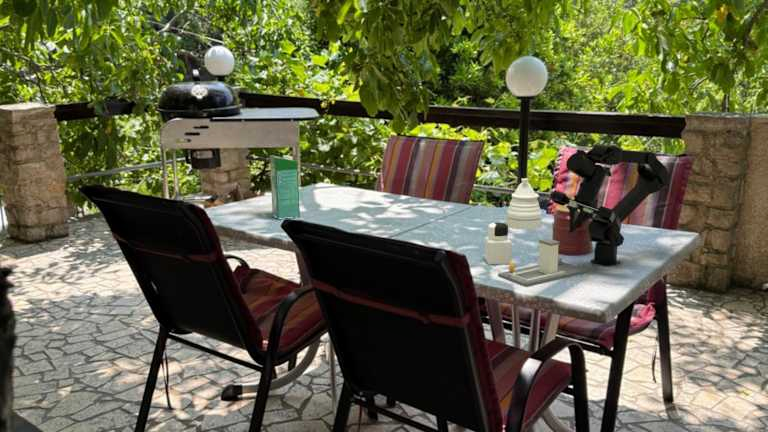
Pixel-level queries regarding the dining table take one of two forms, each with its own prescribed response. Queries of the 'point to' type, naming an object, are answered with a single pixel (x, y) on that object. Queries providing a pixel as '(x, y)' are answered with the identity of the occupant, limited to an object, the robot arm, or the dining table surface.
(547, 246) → the fader tab
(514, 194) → the honey pot
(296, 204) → the milk carton
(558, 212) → the canister
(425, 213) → the dining table surface
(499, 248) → the medicine bottle
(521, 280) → the console
